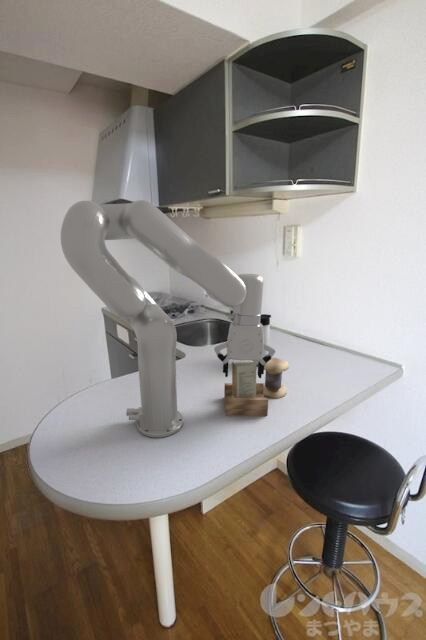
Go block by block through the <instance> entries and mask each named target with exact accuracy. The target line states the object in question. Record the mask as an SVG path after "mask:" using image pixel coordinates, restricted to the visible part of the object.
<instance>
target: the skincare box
mask: <svg viewBox="0 0 426 640" xmlns="http://www.w3.org/2000/svg"><path fill="white" fill-rule="evenodd" d="M231 375H232V376H231V383H232V398H256V383H257V366H256V363H255V362H254V361H252V360H233V361H232V362H231Z"/></svg>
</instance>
